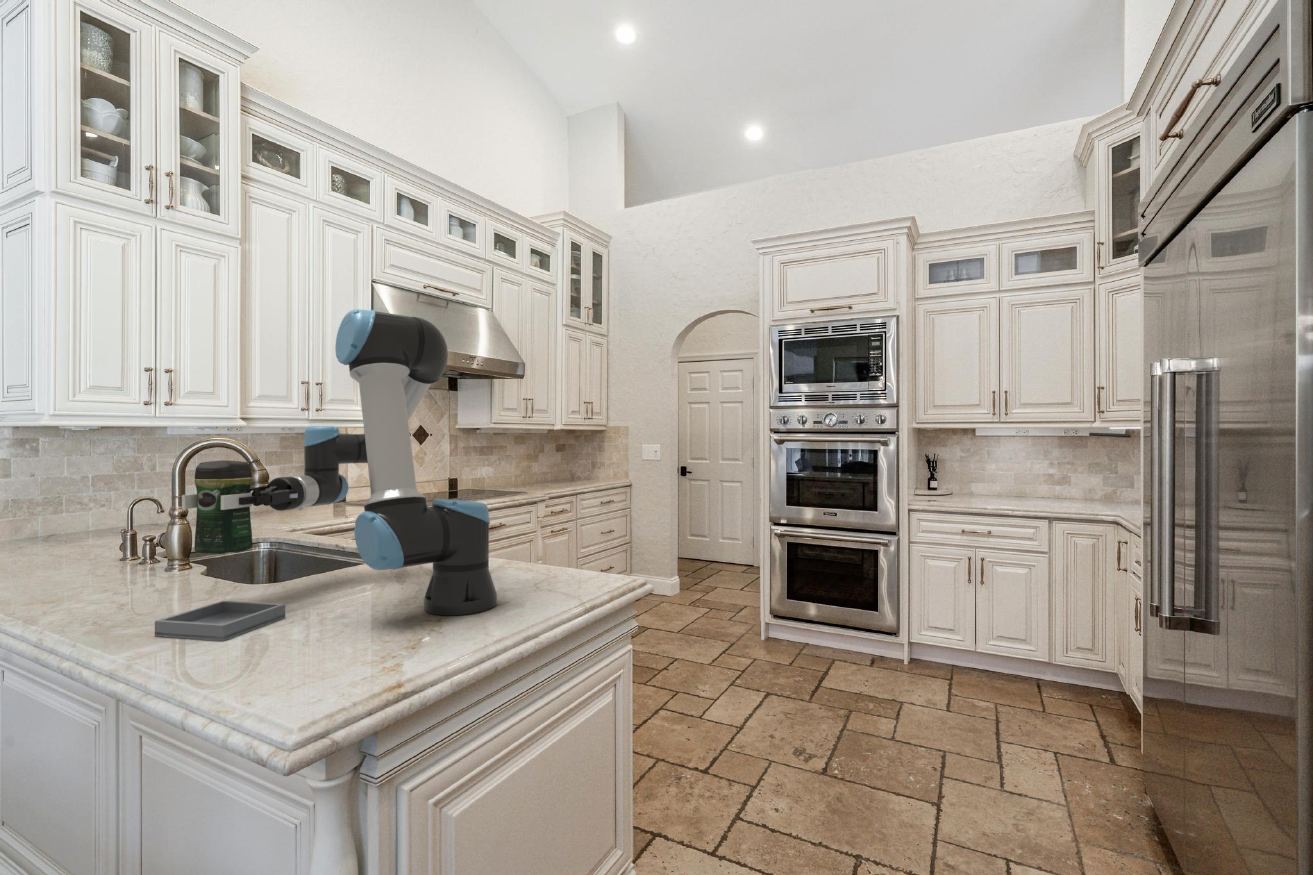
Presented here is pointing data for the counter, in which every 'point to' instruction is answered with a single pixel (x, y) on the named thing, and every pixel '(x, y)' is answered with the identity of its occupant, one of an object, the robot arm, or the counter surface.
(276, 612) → the holder
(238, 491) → the coffee jar
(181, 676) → the counter surface
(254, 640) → the counter surface
